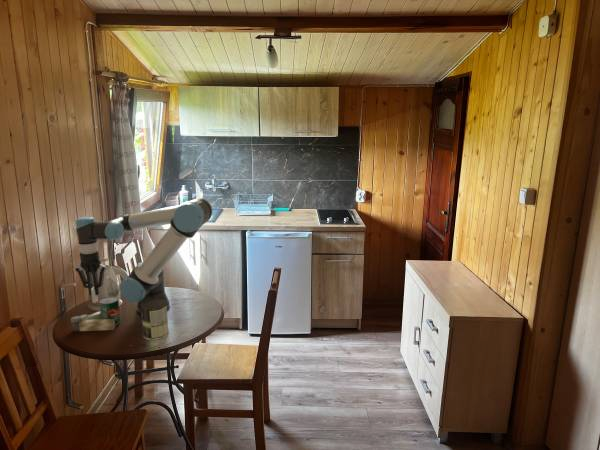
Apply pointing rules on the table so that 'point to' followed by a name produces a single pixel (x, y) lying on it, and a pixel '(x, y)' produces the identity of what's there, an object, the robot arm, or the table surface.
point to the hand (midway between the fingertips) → (95, 301)
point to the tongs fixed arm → (94, 325)
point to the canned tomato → (110, 309)
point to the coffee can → (154, 319)
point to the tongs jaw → (86, 317)
